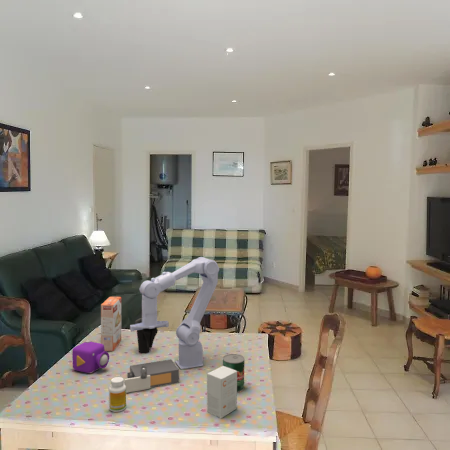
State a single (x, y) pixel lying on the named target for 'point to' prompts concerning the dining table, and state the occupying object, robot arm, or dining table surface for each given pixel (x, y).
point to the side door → (138, 381)
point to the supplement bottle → (117, 395)
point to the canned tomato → (236, 368)
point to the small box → (221, 391)
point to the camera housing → (157, 372)
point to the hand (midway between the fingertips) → (149, 346)
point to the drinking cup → (141, 340)
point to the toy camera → (89, 357)
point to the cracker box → (111, 323)
